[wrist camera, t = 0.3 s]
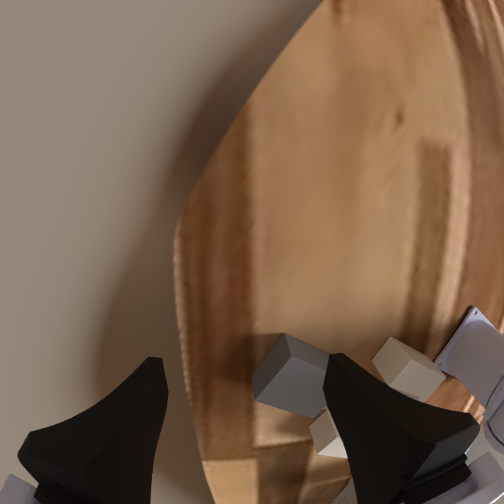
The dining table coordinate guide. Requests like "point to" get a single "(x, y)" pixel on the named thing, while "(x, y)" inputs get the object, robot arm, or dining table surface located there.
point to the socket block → (396, 376)
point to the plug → (292, 377)
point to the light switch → (346, 495)
